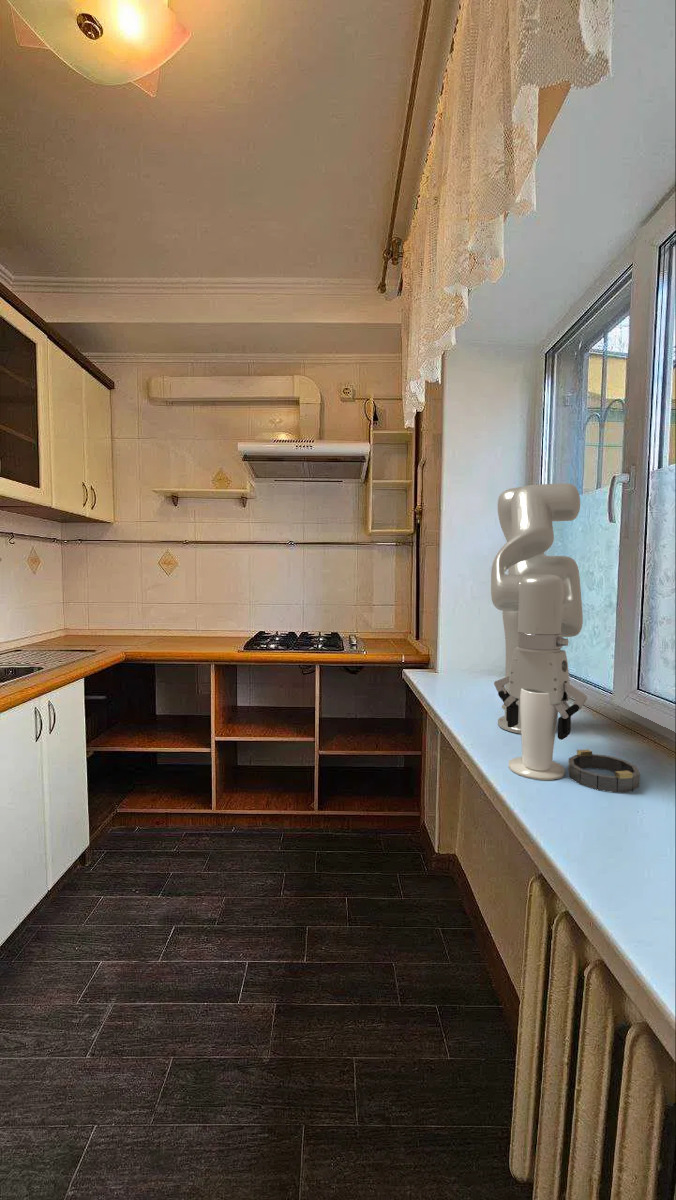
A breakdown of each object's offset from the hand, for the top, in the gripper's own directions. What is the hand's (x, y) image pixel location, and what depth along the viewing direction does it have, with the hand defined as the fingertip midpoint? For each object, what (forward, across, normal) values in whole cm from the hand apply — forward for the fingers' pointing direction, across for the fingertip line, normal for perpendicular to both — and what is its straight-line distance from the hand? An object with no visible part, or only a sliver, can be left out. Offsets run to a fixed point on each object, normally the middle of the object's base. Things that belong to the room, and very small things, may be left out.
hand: (537, 731), depth 96 cm
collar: (+7, -10, -4) cm, 13 cm away
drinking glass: (+7, 0, 0) cm, 7 cm away
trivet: (+7, 0, 0) cm, 7 cm away
